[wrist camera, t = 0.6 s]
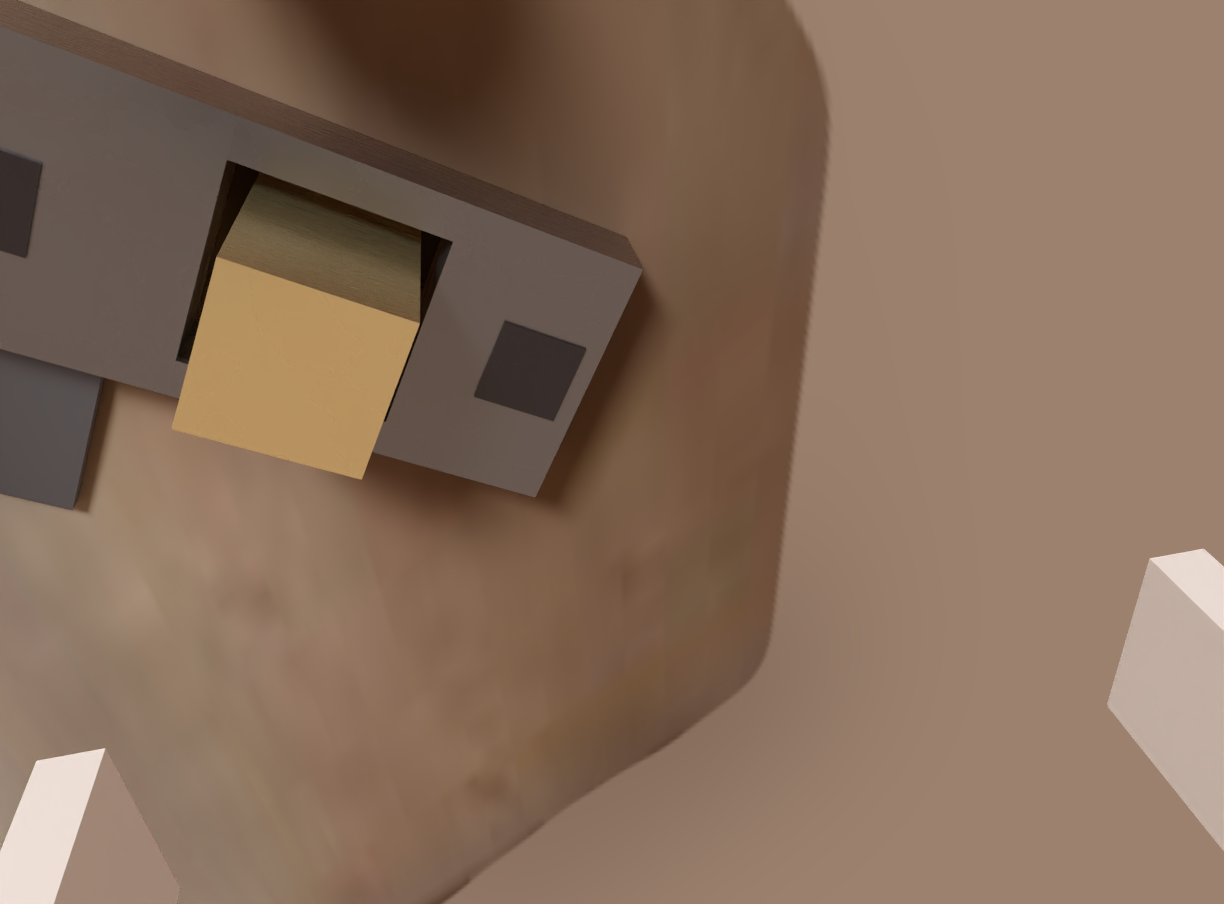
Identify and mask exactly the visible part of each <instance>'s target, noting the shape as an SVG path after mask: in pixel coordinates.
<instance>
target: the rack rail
mask: <svg viewBox="0 0 1224 904" xmlns="http://www.w3.org/2000/svg"><path fill="white" fill-rule="evenodd" d="M236 163H238V164H240V165H243V166H246V167H249V168H251V169H254V170H257V171H260V172H262V173H265V174H268V175H271V176H273V177H276V178H279V179H282V180H284V181H287V182H290V183H293V184H295V185H298V186H301V187H304V188H306V189H309V190H312V191H315V192H317V193H320V194H323V195H326V196H328V197H331V198H334V199H337V200H339V201H342V202H345V203H348V204H351V205H353V206H356V207H359V208H362V209H364V210H367V211H370V212H373V213H375V214H378V215H381V216H384V217H386V218H389V219H392V220H395V221H397V222H400V223H403V224H406V225H408V226H411V227H414V228H417V229H419V230H422V231H425V232H428V233H430V234H433V235H436V236H439V237H441V239H440V242H439V245H438V247H437V250H436V253H435V256H434V258H433V261H432V264H431V266H430V269H429V272H428V275H427V277H426V280H425V283H424V286H423V288H422V291H421V294H420V325H419V327H418V330H417V333H416V335H415V338H414V341H413V343H412V346H411V349H410V351H409V354H408V357H407V359H406V362H405V365H404V367H403V370H402V373H401V375H400V378H399V381H398V384H397V386H396V389H395V392H394V394H393V397H392V400H391V402H390V405H389V408H388V410H387V413H386V416H385V418H384V421H383V424H382V426H381V429H380V432H379V435H378V437H377V440H376V443H375V445H374V448H373V451H372V452H373V453H377V454H380V455H384V456H387V457H391V458H395V459H398V460H402V461H405V462H409V463H413V464H416V465H420V466H423V467H427V468H431V469H434V470H438V471H441V472H445V473H449V474H452V475H456V476H459V477H463V478H467V479H470V480H474V481H477V482H481V483H484V484H488V485H492V486H495V487H499V488H502V489H506V490H510V491H513V492H517V493H520V494H524V495H528V496H531V497H536V495H537V493H538V491H539V489H540V487H541V485H542V483H543V480H544V478H545V476H546V474H547V472H548V470H549V468H550V466H551V463H552V461H553V459H554V457H555V455H556V453H557V451H558V449H559V447H560V444H561V442H562V440H563V438H564V436H565V434H566V432H567V430H568V427H569V425H570V423H571V421H572V419H573V417H574V415H575V413H576V411H577V408H578V406H579V404H580V402H581V400H582V398H583V396H584V394H585V391H586V389H587V387H588V385H589V383H590V381H591V379H592V377H593V375H594V372H595V370H596V368H597V366H598V364H599V362H600V360H601V358H602V355H603V353H604V351H605V349H606V347H607V345H608V343H609V341H610V339H611V336H612V334H613V332H614V330H615V328H616V326H617V324H618V322H619V319H620V317H621V315H622V313H623V311H624V309H625V307H626V305H627V303H628V300H629V298H630V296H631V294H632V292H633V290H634V288H635V286H636V284H637V281H638V279H639V277H640V275H641V273H642V271H643V269H642V267H641V265H640V263H639V261H638V259H637V257H636V255H635V253H634V251H633V249H632V247H631V245H630V243H629V241H628V239H627V237H625V236H622V235H619V234H617V233H614V232H612V231H609V230H607V229H604V228H601V227H599V226H596V225H594V224H591V223H589V222H586V221H583V220H581V219H578V218H576V217H573V216H571V215H568V214H565V213H563V212H560V211H558V210H555V209H553V208H550V207H547V206H545V205H542V204H540V203H537V202H535V201H532V200H529V199H527V198H524V197H522V196H519V195H517V194H514V193H511V192H509V191H506V190H504V189H501V188H499V187H496V186H493V185H491V184H488V183H486V182H483V181H481V180H478V179H475V178H473V177H470V176H468V175H465V174H463V173H460V172H457V171H455V170H452V169H450V168H447V167H445V166H442V165H439V164H437V163H434V162H432V161H429V160H427V159H424V158H422V157H419V156H416V155H414V154H411V153H409V152H406V151H404V150H401V149H398V148H396V147H393V146H391V145H388V144H386V143H383V142H380V141H378V140H375V139H373V138H370V137H368V136H365V135H362V134H360V133H357V132H355V131H352V130H350V129H347V128H344V127H342V126H339V125H337V124H334V123H332V122H329V121H326V120H324V119H321V118H319V117H316V116H314V115H311V114H308V113H306V112H303V111H301V110H298V109H296V108H293V107H290V106H288V105H285V104H283V103H280V102H278V101H275V100H272V99H270V98H267V97H265V96H262V95H260V94H257V93H254V92H252V91H249V90H247V89H244V88H242V87H239V86H236V85H234V84H231V83H229V82H226V81H224V80H221V79H219V78H216V77H213V76H211V75H208V74H206V73H203V72H201V71H198V70H195V69H193V68H190V67H188V66H185V65H183V64H180V63H177V62H175V61H172V60H170V59H167V58H165V57H162V56H159V55H157V54H154V53H152V52H149V51H147V50H144V49H141V48H139V47H136V46H134V45H131V44H129V43H126V42H123V41H121V40H118V39H116V38H113V37H111V36H108V35H105V34H103V33H100V32H98V31H95V30H93V29H90V28H87V27H85V26H82V25H80V24H77V23H75V22H72V21H69V20H67V19H64V18H62V17H59V16H57V15H54V14H51V13H49V12H46V11H44V10H41V9H39V8H36V7H33V6H31V5H28V4H26V3H23V2H21V1H18V0H0V349H3V350H6V351H10V352H14V353H17V354H21V355H24V356H28V357H32V358H35V359H39V360H42V361H46V362H49V363H53V364H57V365H60V366H64V367H67V368H71V369H75V370H78V371H82V372H85V373H89V374H93V375H96V376H100V377H103V378H107V379H111V380H114V381H118V382H121V383H125V384H129V385H132V386H136V387H139V388H143V389H147V390H150V391H154V392H157V393H161V394H165V395H168V396H172V397H175V398H180V394H181V390H182V387H183V383H184V379H185V375H186V371H187V368H188V364H189V360H190V356H191V352H192V348H193V345H194V341H195V337H196V333H197V329H198V326H199V321H196V316H197V313H198V309H199V305H200V301H201V297H202V293H203V289H204V286H205V282H206V278H207V274H208V270H209V266H210V262H211V259H212V255H213V251H214V247H215V243H216V239H217V236H218V232H219V228H220V224H221V220H222V216H223V212H224V209H225V205H226V201H227V197H228V193H229V189H230V185H231V182H232V178H233V174H234V170H235V166H236Z"/></svg>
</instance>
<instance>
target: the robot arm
mask: <svg viewBox="0 0 1224 904" xmlns="http://www.w3.org/2000/svg"><path fill="white" fill-rule="evenodd" d="M1107 706H1108V707H1109V709H1110V710H1111V711H1112V712H1113V714H1114V715H1115V716H1116V717H1117V718H1118V720H1119V721H1120V722H1121V723H1122V725H1123V726H1124V727H1125V728H1126V730H1127V731H1128V732H1129V733H1130V735H1131V736H1132V737H1133V738H1134V740H1135V741H1136V742H1137V743H1138V745H1139V746H1140V747H1141V748H1142V750H1143V751H1144V752H1145V753H1146V755H1147V756H1148V757H1149V758H1150V760H1151V761H1152V762H1153V763H1154V765H1155V766H1156V767H1157V768H1158V770H1159V771H1160V772H1161V773H1162V775H1163V776H1164V777H1165V778H1166V780H1167V781H1168V782H1169V783H1170V785H1171V786H1172V787H1173V788H1174V790H1175V791H1176V792H1177V793H1178V795H1179V796H1180V797H1181V798H1182V800H1183V801H1184V802H1185V803H1186V805H1187V806H1188V807H1189V808H1190V810H1191V811H1192V812H1193V813H1194V814H1195V816H1196V817H1197V818H1198V820H1199V821H1200V822H1201V823H1202V824H1203V826H1204V827H1205V828H1206V830H1207V831H1208V832H1209V833H1210V835H1211V836H1212V837H1213V838H1214V840H1215V841H1216V842H1217V843H1218V845H1219V846H1220V847H1221V848H1222V850H1223V851H1224V567H1223V566H1222V565H1221V564H1220V563H1219V562H1218V561H1217V560H1216V559H1214V558H1213V557H1212V556H1211V555H1210V554H1209V553H1208V552H1207V551H1206V550H1204V549H1200V550H1195V551H1189V552H1183V553H1178V554H1172V555H1167V556H1161V557H1156V558H1150V559H1149V563H1148V566H1147V570H1146V573H1145V577H1144V580H1143V584H1142V587H1141V590H1140V594H1139V597H1138V601H1137V604H1136V607H1135V611H1134V614H1133V618H1132V621H1131V625H1130V628H1129V632H1128V635H1127V638H1126V642H1125V645H1124V649H1123V652H1122V656H1121V659H1120V663H1119V666H1118V670H1117V673H1116V677H1115V680H1114V683H1113V687H1112V690H1111V693H1110V697H1109V700H1108V704H1107ZM179 892H180V887H179V885H178V883H177V881H176V880H175V878H174V876H173V874H172V872H171V870H170V868H169V866H168V865H167V863H166V861H165V859H164V857H163V855H162V853H161V851H160V850H159V848H158V846H157V844H156V842H155V840H154V838H153V836H152V835H151V833H150V831H149V829H148V827H147V825H146V823H145V821H144V820H143V818H142V816H141V814H140V812H139V810H138V808H137V806H136V805H135V803H134V801H133V799H132V797H131V795H130V793H129V791H128V790H127V788H126V786H125V784H124V782H123V780H122V778H121V776H120V775H119V773H118V771H117V769H116V767H115V765H114V763H113V761H112V760H111V758H110V756H109V754H108V752H107V750H106V748H104V749H98V750H93V751H87V752H82V753H76V754H71V755H65V756H60V757H54V758H49V759H43V760H38V761H36V763H35V766H34V768H33V771H32V773H31V776H30V778H29V781H28V783H27V786H26V788H25V791H24V793H23V796H22V798H21V801H20V803H19V806H18V808H17V811H16V813H15V816H14V818H13V821H12V823H11V826H10V828H9V831H8V833H7V836H6V838H5V841H4V843H3V846H2V848H1V851H0V904H177V902H178V897H179Z"/></svg>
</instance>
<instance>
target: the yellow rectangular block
mask: <svg viewBox="0 0 1224 904" xmlns="http://www.w3.org/2000/svg"><path fill="white" fill-rule="evenodd" d="M420 275H421V230H419V229H417V228H414V227H411V226H408V225H406V224H403V223H400V222H397V221H395V220H392V219H389V218H386V217H384V216H381V215H378V214H375V213H373V212H370V211H367V210H364V209H362V208H359V207H356V206H353V205H351V204H348V203H345V202H342V201H339V200H337V199H334V198H331V197H328V196H326V195H323V194H320V193H317V192H315V191H312V190H309V189H306V188H304V187H301V186H298V185H295V184H293V183H290V182H287V181H284V180H282V179H279V178H276V177H273V176H271V175H268V174H265V173H262V172H260V173H259V175H258V177H257V179H256V181H255V183H254V185H253V187H252V188H251V190H250V192H249V194H248V196H247V198H246V200H245V202H244V204H243V206H242V208H241V210H240V212H239V214H238V216H237V218H236V220H235V222H234V224H233V226H232V228H231V229H230V231H229V233H228V235H227V237H226V239H225V241H224V243H223V245H222V247H221V249H220V251H219V253H218V255H217V257H216V261H215V264H214V268H213V272H212V276H211V280H210V283H209V287H208V291H207V295H206V299H205V303H204V306H203V310H202V314H201V318H200V322H199V326H198V329H197V333H196V337H195V341H194V345H193V348H192V352H191V356H190V360H189V364H188V368H187V371H186V375H185V379H184V383H183V387H182V390H181V394H180V398H179V402H178V406H177V410H176V413H175V417H174V421H173V425H172V429H173V430H177V431H180V432H184V433H188V434H192V435H195V436H199V437H203V438H207V439H210V440H214V441H218V442H222V443H225V444H229V445H233V446H237V447H240V448H244V449H248V450H252V451H255V452H259V453H263V454H267V455H270V456H274V457H278V458H282V459H285V460H289V461H293V462H297V463H300V464H304V465H308V466H312V467H315V468H319V469H323V470H327V471H330V472H334V473H338V474H342V475H345V476H349V477H353V478H357V479H360V480H362V477H363V475H364V472H365V469H366V467H367V464H368V461H369V459H370V456H371V453H372V451H373V448H374V445H375V443H376V440H377V437H378V435H379V432H380V429H381V426H382V424H383V421H384V418H385V416H386V413H387V410H388V408H389V405H390V402H391V400H392V397H393V394H394V392H395V389H396V386H397V384H398V381H399V378H400V375H401V373H402V370H403V367H404V365H405V362H406V359H407V357H408V354H409V351H410V349H411V346H412V343H413V341H414V338H415V335H416V333H417V330H418V327H419V325H420Z"/></svg>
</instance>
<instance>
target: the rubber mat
mask: <svg viewBox="0 0 1224 904" xmlns="http://www.w3.org/2000/svg"><path fill="white" fill-rule="evenodd" d="M103 383H104V378H103V377H100V376H96V375H93V374H89V373H85V372H82V371H78V370H75V369H71V368H67V367H64V366H60V365H57V364H53V363H49V362H46V361H42V360H39V359H35V358H32V357H28V356H24V355H21V354H17V353H14V352H10V351H6V350H3V349H0V494H5V495H9V496H13V497H18V498H22V499H26V500H30V501H35V502H39V503H43V504H48V505H52V506H56V507H61V508H65V509H69V510H73V508H74V506H75V504H76V503H77V501H78V496H79V492H80V487H81V483H82V478H83V474H84V469H85V465H86V460H87V455H88V451H89V446H90V442H91V437H92V433H93V428H94V424H95V419H96V415H97V410H98V405H99V401H100V396H101V392H102V387H103Z"/></svg>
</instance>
